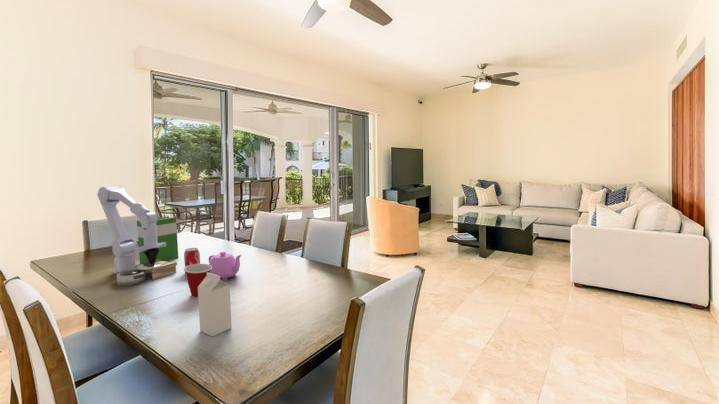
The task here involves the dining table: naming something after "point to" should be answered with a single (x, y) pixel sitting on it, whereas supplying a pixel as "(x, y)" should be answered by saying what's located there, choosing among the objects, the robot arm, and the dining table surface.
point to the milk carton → (214, 305)
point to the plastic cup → (196, 276)
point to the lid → (148, 266)
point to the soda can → (191, 256)
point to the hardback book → (162, 239)
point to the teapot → (224, 265)
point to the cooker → (130, 277)
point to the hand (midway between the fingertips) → (152, 263)
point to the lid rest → (162, 269)
